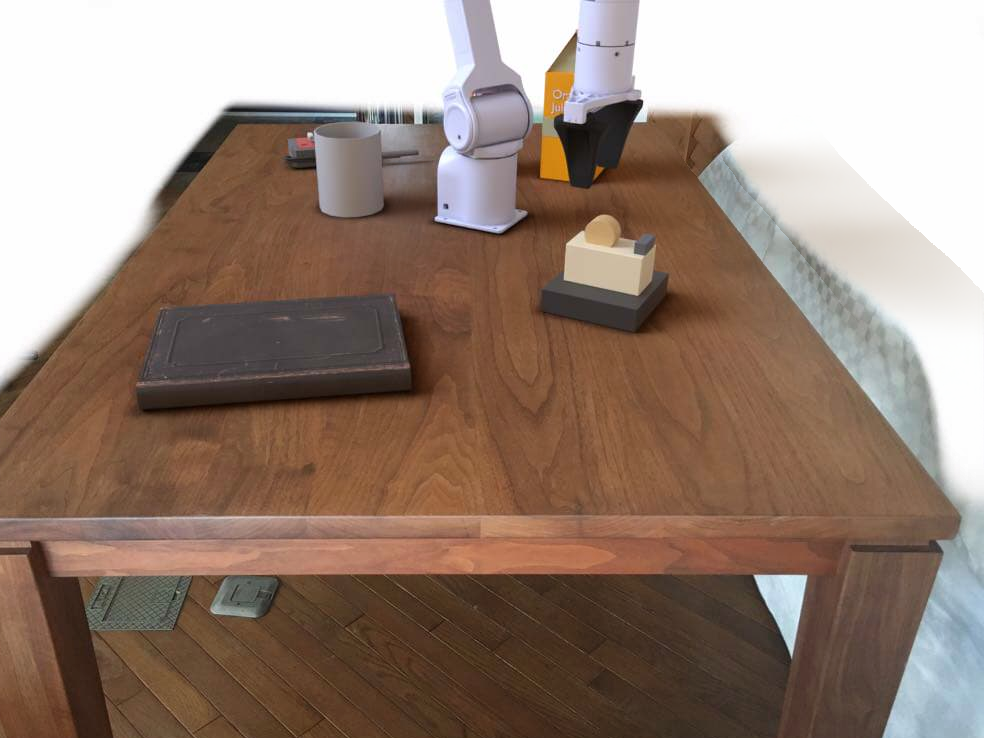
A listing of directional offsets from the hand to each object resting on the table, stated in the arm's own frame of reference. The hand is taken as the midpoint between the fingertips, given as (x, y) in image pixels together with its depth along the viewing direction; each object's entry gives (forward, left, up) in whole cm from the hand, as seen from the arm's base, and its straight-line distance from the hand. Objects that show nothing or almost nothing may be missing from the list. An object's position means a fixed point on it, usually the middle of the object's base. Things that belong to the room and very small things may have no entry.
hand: (594, 176), depth 96 cm
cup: (-35, +4, -11) cm, 37 cm away
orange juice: (-15, +32, -11) cm, 37 cm away
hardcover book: (-17, -34, -11) cm, 39 cm away
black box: (+5, -8, -10) cm, 14 cm away
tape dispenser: (+5, -8, -8) cm, 12 cm away
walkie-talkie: (-47, +21, -11) cm, 52 cm away
